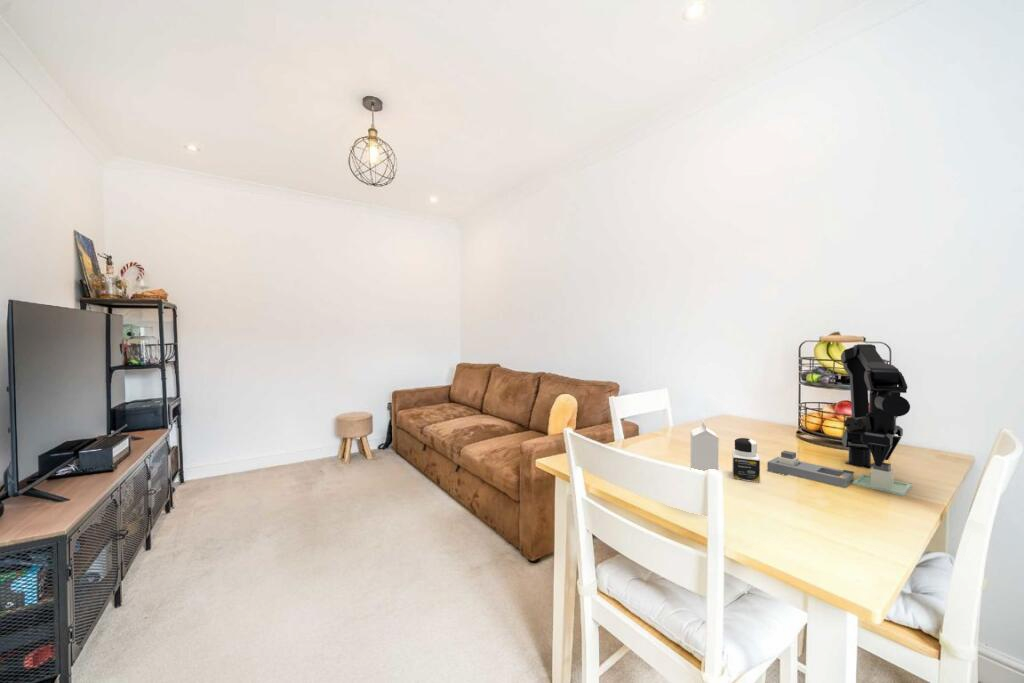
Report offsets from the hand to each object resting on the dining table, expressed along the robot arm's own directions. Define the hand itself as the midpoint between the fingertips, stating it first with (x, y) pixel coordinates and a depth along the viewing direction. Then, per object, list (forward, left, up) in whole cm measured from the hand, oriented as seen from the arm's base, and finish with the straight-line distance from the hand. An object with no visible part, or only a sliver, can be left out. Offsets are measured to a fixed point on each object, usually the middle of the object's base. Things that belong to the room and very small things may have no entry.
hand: (881, 462), depth 115 cm
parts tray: (0, 0, -7) cm, 7 cm away
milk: (+53, -26, -7) cm, 59 cm away
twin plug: (+7, -21, -7) cm, 24 cm away
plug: (0, 0, -7) cm, 7 cm away
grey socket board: (+7, -16, -7) cm, 19 cm away
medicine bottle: (+23, -28, -7) cm, 37 cm away
